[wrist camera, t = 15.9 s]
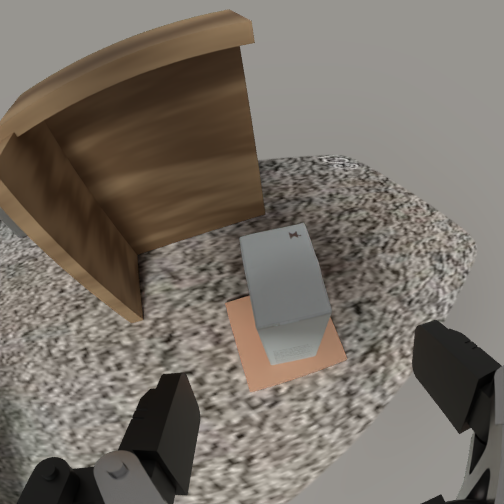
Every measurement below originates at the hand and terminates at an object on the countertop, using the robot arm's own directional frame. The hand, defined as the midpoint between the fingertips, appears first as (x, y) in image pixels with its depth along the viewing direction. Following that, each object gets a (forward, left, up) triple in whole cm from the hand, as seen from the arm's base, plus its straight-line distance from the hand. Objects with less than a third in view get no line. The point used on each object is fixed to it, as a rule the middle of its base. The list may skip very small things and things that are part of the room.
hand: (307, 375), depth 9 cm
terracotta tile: (-7, +1, -17) cm, 18 cm away
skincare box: (-6, +1, -17) cm, 18 cm away
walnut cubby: (-17, -5, -17) cm, 24 cm away
